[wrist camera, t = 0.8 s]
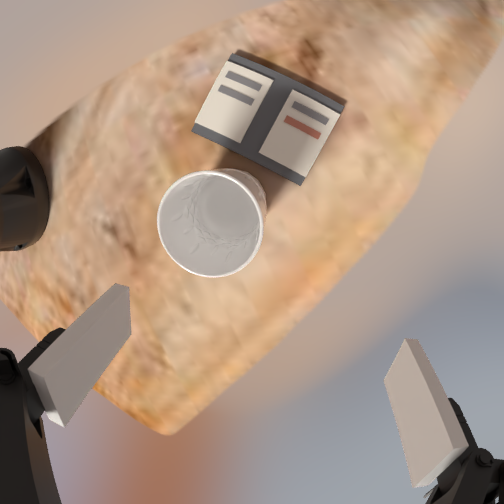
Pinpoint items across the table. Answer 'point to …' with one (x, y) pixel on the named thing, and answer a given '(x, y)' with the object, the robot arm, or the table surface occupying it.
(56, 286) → the table surface
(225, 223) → the white cup
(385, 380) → the robot arm
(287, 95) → the label board
